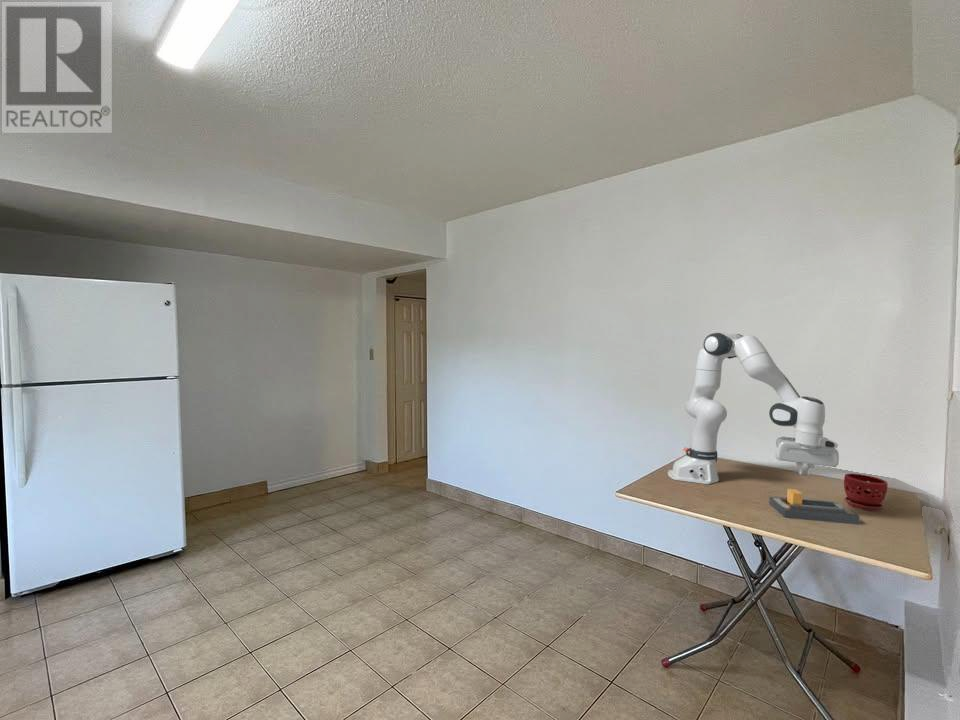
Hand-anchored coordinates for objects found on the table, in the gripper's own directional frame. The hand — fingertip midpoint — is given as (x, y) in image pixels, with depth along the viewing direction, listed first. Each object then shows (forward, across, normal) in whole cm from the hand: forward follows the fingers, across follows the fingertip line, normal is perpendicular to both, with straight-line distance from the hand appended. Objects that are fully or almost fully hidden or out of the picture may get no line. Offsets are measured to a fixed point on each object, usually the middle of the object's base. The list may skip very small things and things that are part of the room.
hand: (803, 474), depth 168 cm
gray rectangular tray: (+15, +4, +1) cm, 16 cm away
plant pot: (+14, +29, +16) cm, 36 cm away
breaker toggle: (+12, -2, +1) cm, 12 cm away
